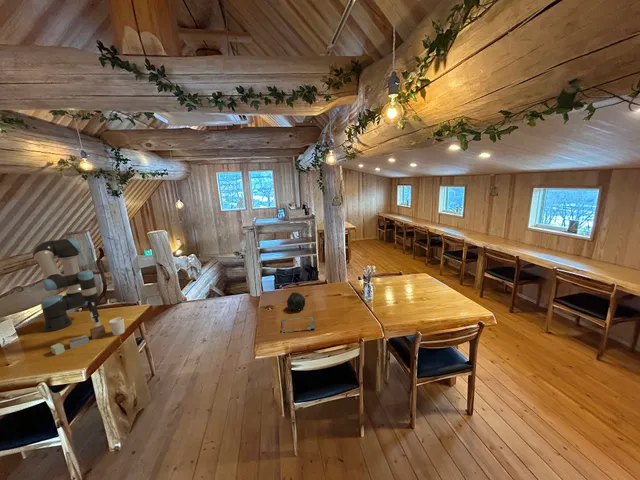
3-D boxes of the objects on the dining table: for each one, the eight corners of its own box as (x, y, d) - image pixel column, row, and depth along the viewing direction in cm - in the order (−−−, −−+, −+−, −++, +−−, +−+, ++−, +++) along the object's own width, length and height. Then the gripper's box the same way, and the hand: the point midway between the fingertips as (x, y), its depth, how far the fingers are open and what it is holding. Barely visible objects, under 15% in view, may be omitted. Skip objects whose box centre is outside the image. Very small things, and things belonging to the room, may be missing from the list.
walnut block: (91, 336, 176) (89, 328, 175) (104, 332, 181) (102, 324, 180) (92, 339, 172) (91, 331, 171) (106, 335, 178) (104, 327, 176)
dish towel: (315, 331, 173) (315, 327, 173) (280, 334, 171) (280, 330, 171) (313, 318, 190) (313, 315, 190) (281, 321, 188) (281, 318, 188)
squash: (310, 299, 211) (298, 286, 211) (305, 307, 197) (292, 293, 196) (299, 308, 215) (286, 295, 215) (293, 318, 201) (280, 304, 201)
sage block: (52, 353, 159) (50, 346, 158) (60, 349, 162) (59, 343, 162) (56, 355, 156) (54, 348, 155) (65, 351, 160) (63, 345, 159)
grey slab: (69, 345, 167) (68, 340, 166) (88, 339, 174) (86, 334, 173) (71, 349, 162) (69, 344, 162) (89, 342, 169) (88, 338, 168)
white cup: (124, 328, 185) (121, 316, 183) (127, 332, 180) (124, 319, 178) (110, 333, 179) (107, 320, 177) (113, 337, 174) (110, 323, 172)
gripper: (79, 291, 176) (86, 320, 180) (85, 300, 160) (92, 331, 164) (93, 288, 182) (99, 316, 186) (100, 296, 166) (106, 326, 169)
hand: (96, 323), depth 175 cm, fingers open, 13 cm apart
